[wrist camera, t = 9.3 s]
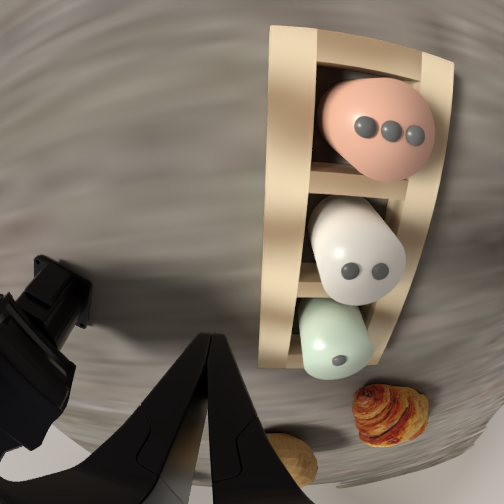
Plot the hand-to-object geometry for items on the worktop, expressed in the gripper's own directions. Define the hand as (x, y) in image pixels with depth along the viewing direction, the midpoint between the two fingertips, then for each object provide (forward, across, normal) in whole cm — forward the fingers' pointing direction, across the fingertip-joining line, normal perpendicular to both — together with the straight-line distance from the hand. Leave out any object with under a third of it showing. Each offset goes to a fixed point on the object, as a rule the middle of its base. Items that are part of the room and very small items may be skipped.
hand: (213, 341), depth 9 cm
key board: (+12, -8, +1) cm, 14 cm away
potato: (+13, -6, +34) cm, 37 cm away
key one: (+12, -8, +9) cm, 17 cm away
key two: (+12, -7, +1) cm, 14 cm away
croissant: (+12, -21, +26) cm, 36 cm away
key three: (+12, -7, -6) cm, 15 cm away
